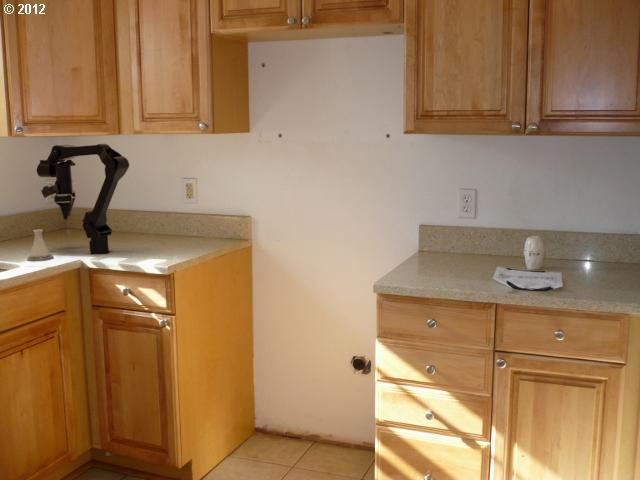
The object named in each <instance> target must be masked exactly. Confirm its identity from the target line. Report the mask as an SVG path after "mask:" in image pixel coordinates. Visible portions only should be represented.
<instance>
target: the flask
mask: <svg viewBox="0 0 640 480" xmlns="http://www.w3.org/2000/svg"><path fill="white" fill-rule="evenodd" d="M43 231H44V230H43V229H33V233H34V240H33V244H32V247H31V250H30V255H29V256H30V258H43V257H48V256H50V255H51V254H50V252H49V250H48V247H47V245H46V243H45V241H44V238H43V237H44V236H43Z"/></svg>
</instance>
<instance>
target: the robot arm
mask: <svg viewBox="0 0 640 480" xmlns="http://www.w3.org/2000/svg"><path fill="white" fill-rule="evenodd" d="M95 155H97V156H98V158H99V160H100V161H101V163H102V164H103V165H104V166H105V167H104V174H105V178H104V181H103V183H102V185H101V188H100V191H99V193H98V196H97V199H96V201H95V204H94V206H93V209H92V210H89V211H86V212H85V213H84V217H83V219H82V220H81V222H82V228H83V230H84V232H85V235H86V237H87V239H90V240H89V252H90V254H91V255H96V254H98V255H99V254H109V253H110V246H109V236H111V235H112V232H113V230H112V229H111V227H110V226H109V225H108V224H107V221H108V218H107V212H108V208H109V206H110V204H111V201H112V198H113V196H114V193H115V190H116V188H117V186H118V184H119V181H120V180H121V179H122V178H123V177H124V176H125V175H126V173H127V171H128V170H129V168H130V163H129V160H128V158H126V157H125V156H123V155H122V154H121V153H119V152H118V151H116V150H115V149H113V148H112V147H111V146H110V145H108V144H107V143H98V144H93V145H92V144H91V145H81V146H80V145H79V146H78V145H70V144H58V145H57V144H56V145H54V146H52V148H51V151H50V153H49V155H48V157H47V159H40V160H39V163H38V165H37V167H36V174H37V175H38V177H40V178H55V181H54V184H53V185H50V186H49V185H45V186H43V187H42V189H40V192H41V195H42V196H43V198H44V199H46V198H48V197H49V196H51V195H54V194H55V196H53V199H54V203H55V204H56V205H57V206H59V208H60V211H61V213H62V216H63V220H68V217H70V215H71V213H72V209H73V207H74V204H75V200H76V191H75V190H74V189H73V182H74V181H73V177H72V167H73V166H76V165H77V164H76V163H75V162H74V161H72V159H75V158H77V157H80V156H81V157H83V156H95Z"/></svg>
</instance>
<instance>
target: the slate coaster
mask: <svg viewBox="0 0 640 480" xmlns="http://www.w3.org/2000/svg"><path fill="white" fill-rule="evenodd" d="M26 259H27V261H29V262H44V261H50V260H53V259H54V255H53V254H50V256H48V257H43V258H30V255H29V256H27V258H26Z"/></svg>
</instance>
